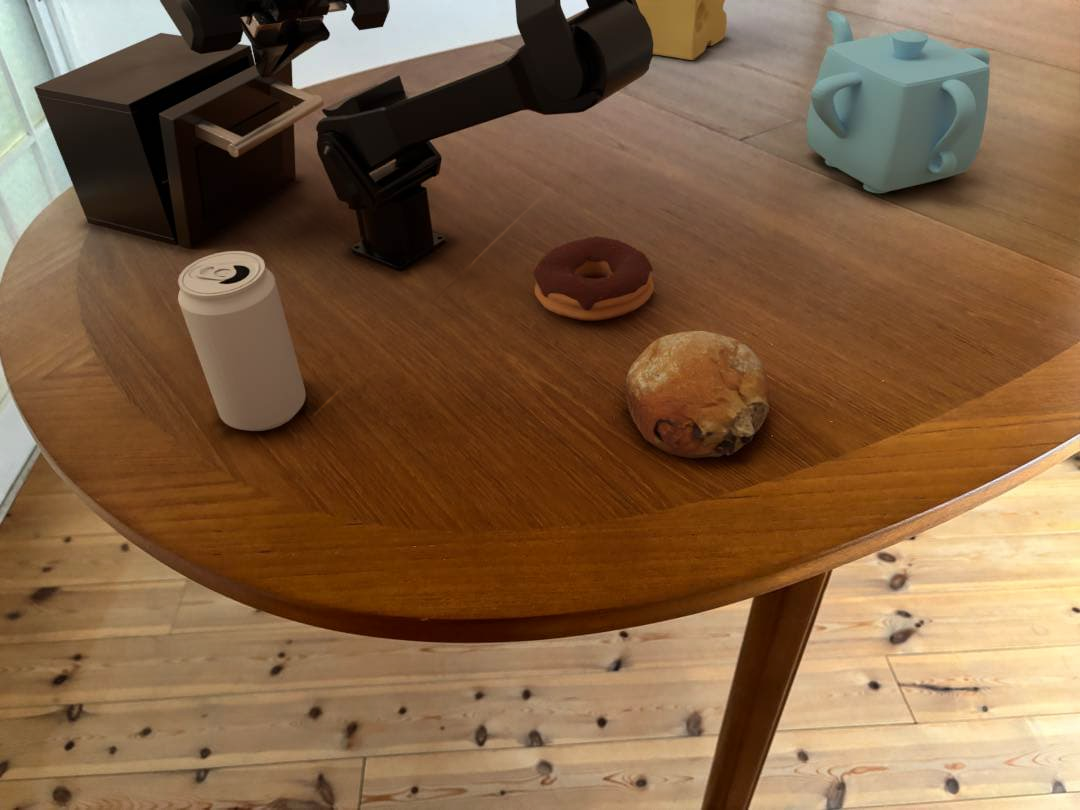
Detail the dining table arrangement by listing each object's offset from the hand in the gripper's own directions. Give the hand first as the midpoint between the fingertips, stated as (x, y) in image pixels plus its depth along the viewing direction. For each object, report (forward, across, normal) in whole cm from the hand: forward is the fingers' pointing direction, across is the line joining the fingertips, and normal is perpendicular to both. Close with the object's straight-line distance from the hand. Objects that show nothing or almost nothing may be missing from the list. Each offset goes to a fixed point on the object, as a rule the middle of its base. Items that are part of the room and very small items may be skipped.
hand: (262, 73), depth 84 cm
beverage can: (-1, +17, +30) cm, 35 cm away
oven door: (+13, +1, +7) cm, 15 cm away
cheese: (+6, -63, +2) cm, 63 cm away
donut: (-8, -10, +35) cm, 37 cm away
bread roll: (-17, -4, +48) cm, 52 cm away
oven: (+18, +4, -1) cm, 19 cm away
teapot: (-14, -48, +35) cm, 61 cm away
